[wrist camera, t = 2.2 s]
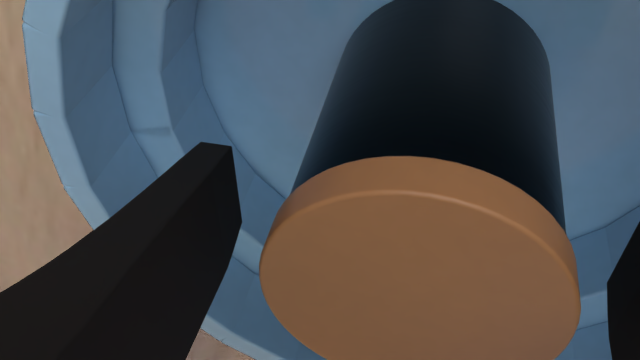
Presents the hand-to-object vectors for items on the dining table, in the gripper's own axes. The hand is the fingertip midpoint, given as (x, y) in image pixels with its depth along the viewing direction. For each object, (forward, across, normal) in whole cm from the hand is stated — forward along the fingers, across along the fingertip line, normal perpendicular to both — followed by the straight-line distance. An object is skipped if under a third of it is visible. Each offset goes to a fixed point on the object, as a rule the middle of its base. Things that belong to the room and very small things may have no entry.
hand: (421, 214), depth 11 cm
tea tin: (+4, 0, 0) cm, 4 cm away
